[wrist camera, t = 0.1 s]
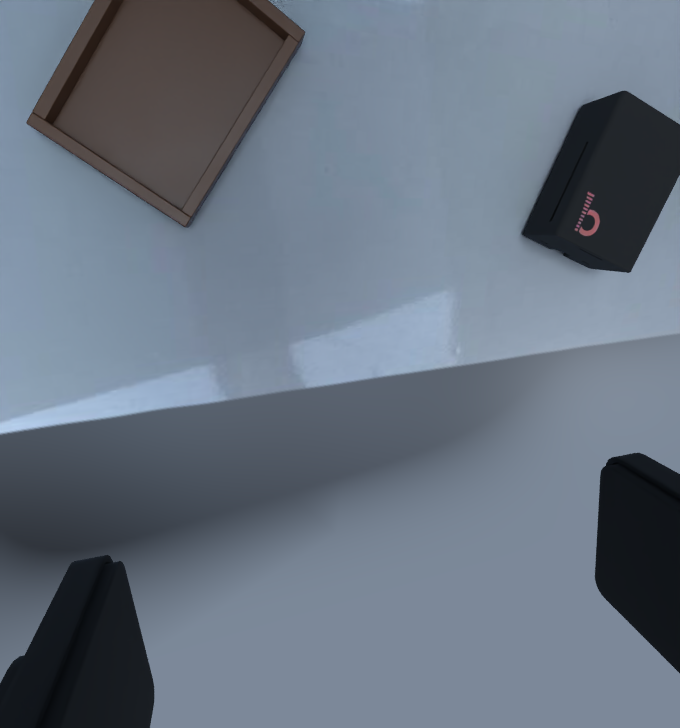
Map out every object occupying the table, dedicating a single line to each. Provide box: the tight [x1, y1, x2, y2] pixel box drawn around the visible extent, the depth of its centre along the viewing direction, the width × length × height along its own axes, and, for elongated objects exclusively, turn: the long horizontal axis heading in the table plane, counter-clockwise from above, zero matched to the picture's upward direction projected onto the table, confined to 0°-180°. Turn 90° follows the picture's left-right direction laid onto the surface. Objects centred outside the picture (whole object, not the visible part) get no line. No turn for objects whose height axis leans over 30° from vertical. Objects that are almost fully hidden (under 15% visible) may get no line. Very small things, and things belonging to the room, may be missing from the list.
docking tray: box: [27, 0, 305, 227], centre depth 33 cm, size 15×11×2 cm
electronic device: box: [523, 91, 680, 273], centre depth 39 cm, size 7×11×5 cm
